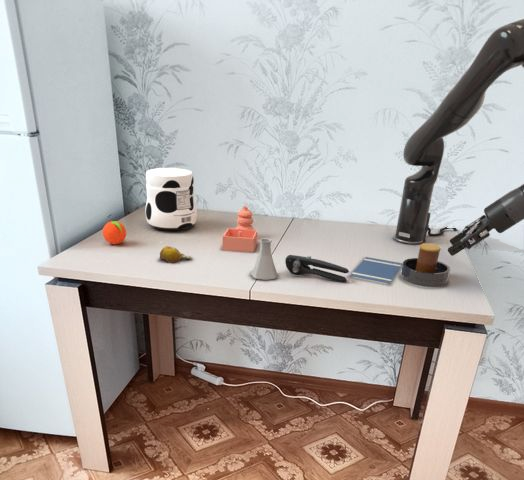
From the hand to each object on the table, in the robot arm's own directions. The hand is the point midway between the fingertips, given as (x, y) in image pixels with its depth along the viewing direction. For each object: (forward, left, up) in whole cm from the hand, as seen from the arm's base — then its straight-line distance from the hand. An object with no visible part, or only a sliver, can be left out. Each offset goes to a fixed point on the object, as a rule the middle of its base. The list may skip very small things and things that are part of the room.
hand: (450, 248), depth 133 cm
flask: (+45, -20, -10) cm, 50 cm away
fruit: (+64, -40, -10) cm, 76 cm away
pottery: (+40, -49, -10) cm, 64 cm away
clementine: (+78, -58, -10) cm, 97 cm away
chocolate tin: (+4, -4, -9) cm, 11 cm away
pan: (+4, -4, -10) cm, 11 cm away
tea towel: (+12, -13, -10) cm, 21 cm away
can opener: (+32, -14, -10) cm, 36 cm away
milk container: (+57, -72, -10) cm, 92 cm away
